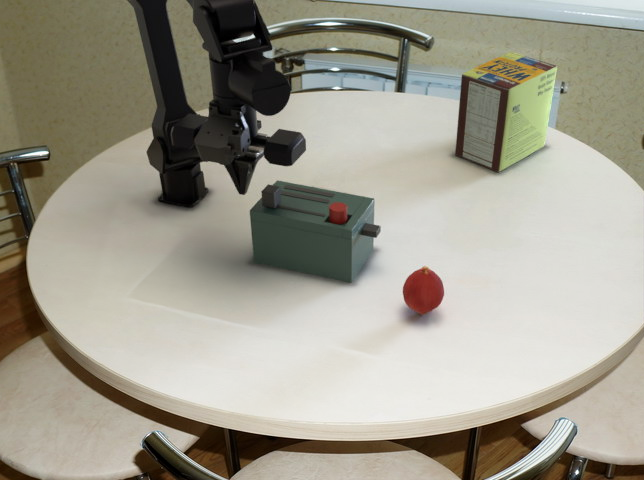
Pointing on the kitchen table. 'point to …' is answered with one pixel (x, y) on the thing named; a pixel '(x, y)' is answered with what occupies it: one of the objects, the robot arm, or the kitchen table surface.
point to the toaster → (314, 232)
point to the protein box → (504, 110)
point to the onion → (423, 290)
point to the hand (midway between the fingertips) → (243, 193)
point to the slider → (271, 196)
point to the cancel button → (338, 213)
